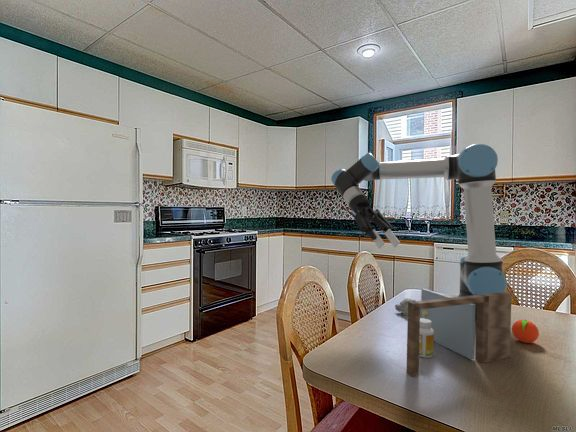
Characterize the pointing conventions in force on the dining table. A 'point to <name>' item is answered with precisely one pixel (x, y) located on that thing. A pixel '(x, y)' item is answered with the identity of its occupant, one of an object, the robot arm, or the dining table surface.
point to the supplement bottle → (426, 339)
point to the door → (451, 324)
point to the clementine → (525, 331)
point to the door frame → (489, 326)
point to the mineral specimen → (404, 306)
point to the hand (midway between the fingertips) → (389, 245)
